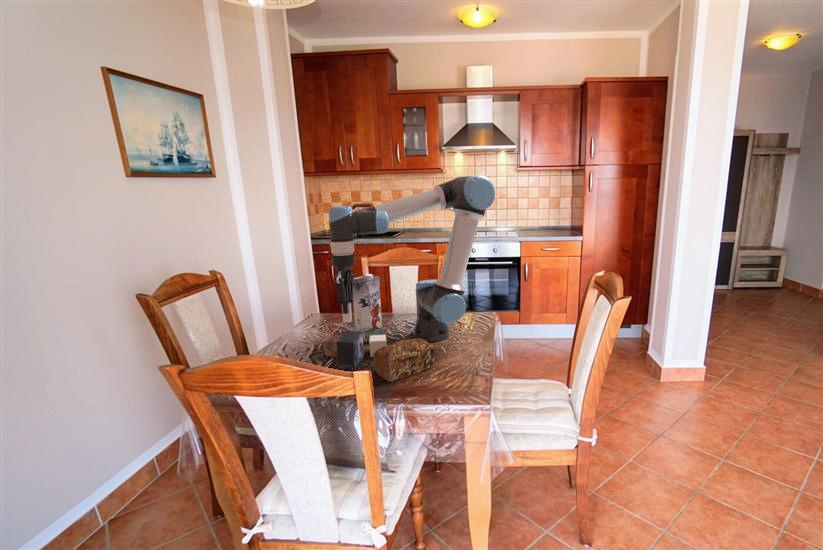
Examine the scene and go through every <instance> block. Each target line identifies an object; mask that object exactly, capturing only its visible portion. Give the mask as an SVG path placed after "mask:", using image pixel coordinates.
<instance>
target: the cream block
mask: <svg viewBox="0 0 823 550" xmlns="http://www.w3.org/2000/svg"><path fill="white" fill-rule="evenodd" d="M368 344H369V354H370V356H369V357H370V358H372V357H373V358H374V355H373V354H374V352H375V351H376V350H378V349H379V348H381V347H382V346H387V345H388V344H387V334H382V335H372V336H370V340H369V343H368Z"/></svg>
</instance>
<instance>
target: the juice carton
mask: <svg viewBox="0 0 823 550" xmlns="http://www.w3.org/2000/svg"><path fill="white" fill-rule="evenodd" d="M380 280H381V278H380V276H379V275H374V274H371V273H366V274H364V275H361V276H359V277H355V278H353V299H352V300H354V301H353V302H352V304H353V305H352V306H353V319H354V331H361V332H363V343H364V342H365V343H367V344H369V340H370V336H372V335H383V325H382V324H383V323H382V320H383V319H382V308H381V307H382V305H381V303H382V302H381V290H380V288H381V287H380V286H381V285H380Z"/></svg>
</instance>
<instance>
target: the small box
mask: <svg viewBox="0 0 823 550" xmlns="http://www.w3.org/2000/svg"><path fill="white" fill-rule="evenodd" d="M340 336H341V337H340V338H339V339H338V340H337V341H336V346H337V357H336V358H337V370H344V371H355V370H356V369H357V368H358V367H359V365H360V364H361V363H362V361H363V360H364V359H365V352H364V351H365V349H364V341H363V332H361V331H355V330H346V331H345V332H344V333H343V334H342V335H340Z"/></svg>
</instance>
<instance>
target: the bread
mask: <svg viewBox="0 0 823 550" xmlns="http://www.w3.org/2000/svg"><path fill="white" fill-rule="evenodd" d="M386 345H387V346H382V347H381V348H379V349H378V350H376V351H375V352H374V354H373V355H374V357H373V360H372V361H373V365H374V370H375V372H376V374H377V375H378V376H380V377H381V378H382V379H383V380H385V381H386V382H394V381H396V380H399V379H404V378H408V377H410V376H414V375H415V374H416V375H417V374H419V373H421V372H422V371H425V370H428V369H431V368H433V367H434V365H435V360H436V356H435V355H436V354H435V352H436V351H435V347H434V346H433V344H432V343H430V342H429V341H425V340H423V339H421V338H415V337H414V338H410V339H406V338H405V339H401V340H400V341H399V340H398V341H395V342H392V343H390V344H386Z"/></svg>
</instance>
